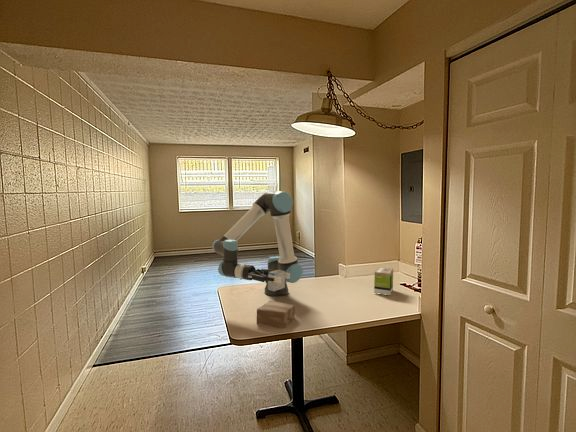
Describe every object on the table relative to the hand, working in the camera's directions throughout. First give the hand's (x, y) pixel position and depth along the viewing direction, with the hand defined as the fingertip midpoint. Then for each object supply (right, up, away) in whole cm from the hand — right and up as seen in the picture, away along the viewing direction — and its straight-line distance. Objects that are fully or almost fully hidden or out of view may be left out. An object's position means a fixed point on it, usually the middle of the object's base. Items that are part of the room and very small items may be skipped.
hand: (285, 278), depth 150 cm
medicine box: (-4, -6, +2) cm, 8 cm away
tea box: (+64, -20, +54) cm, 86 cm away
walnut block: (-5, -22, +3) cm, 23 cm away
